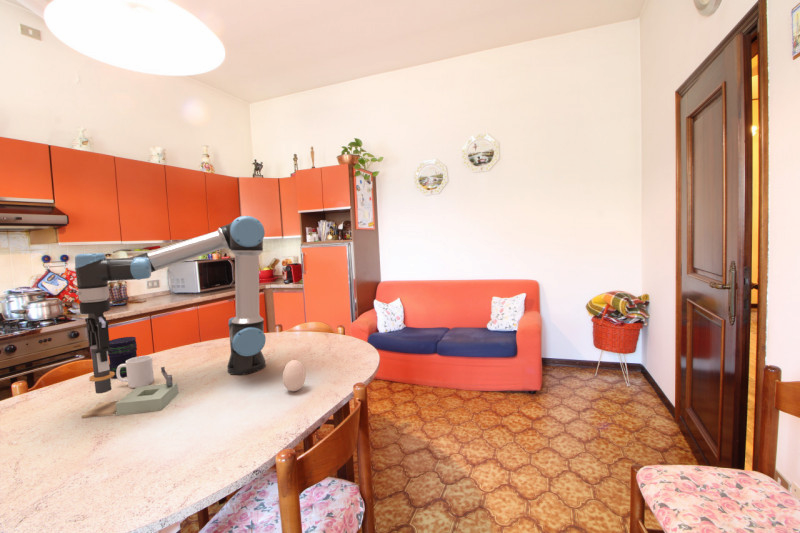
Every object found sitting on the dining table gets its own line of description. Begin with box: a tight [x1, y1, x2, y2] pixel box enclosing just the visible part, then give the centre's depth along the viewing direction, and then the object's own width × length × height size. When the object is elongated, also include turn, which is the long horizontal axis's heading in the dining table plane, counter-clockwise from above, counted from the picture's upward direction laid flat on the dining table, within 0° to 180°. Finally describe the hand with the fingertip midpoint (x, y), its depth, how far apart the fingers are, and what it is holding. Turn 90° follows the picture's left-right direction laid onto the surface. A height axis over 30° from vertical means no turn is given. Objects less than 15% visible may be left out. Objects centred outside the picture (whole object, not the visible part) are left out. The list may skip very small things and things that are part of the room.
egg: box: [282, 359, 306, 392], centre depth 126 cm, size 8×8×11 cm
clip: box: [160, 366, 174, 387], centre depth 127 cm, size 13×2×4 cm, turn 43°
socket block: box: [116, 382, 179, 416], centre depth 120 cm, size 13×13×4 cm
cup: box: [116, 355, 155, 389], centre depth 136 cm, size 8×12×10 cm
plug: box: [89, 345, 115, 394], centre depth 115 cm, size 6×6×16 cm
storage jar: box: [108, 336, 138, 380], centre depth 148 cm, size 10×10×15 cm
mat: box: [81, 400, 119, 419], centre depth 116 cm, size 9×9×1 cm
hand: (101, 369), depth 115 cm, fingers closed on plug, 4 cm apart
